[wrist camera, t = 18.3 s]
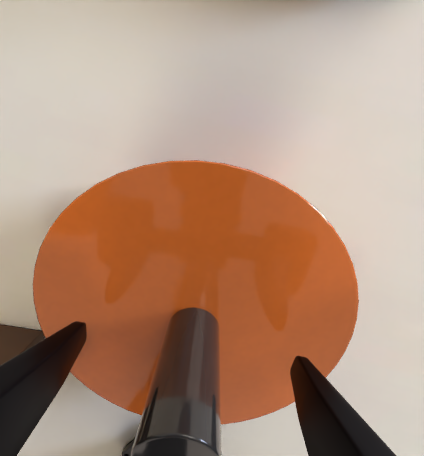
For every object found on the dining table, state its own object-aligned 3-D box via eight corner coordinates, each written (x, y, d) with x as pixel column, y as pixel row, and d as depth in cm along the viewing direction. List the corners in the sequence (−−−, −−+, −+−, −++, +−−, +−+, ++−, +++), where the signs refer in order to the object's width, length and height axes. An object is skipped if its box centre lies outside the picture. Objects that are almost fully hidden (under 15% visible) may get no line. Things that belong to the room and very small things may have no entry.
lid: (213, 433, 14) (210, 600, 9) (5, 320, 11) (-188, 469, 6) (406, 299, 10) (620, 457, 5) (163, 68, 7) (5, -195, 2)
